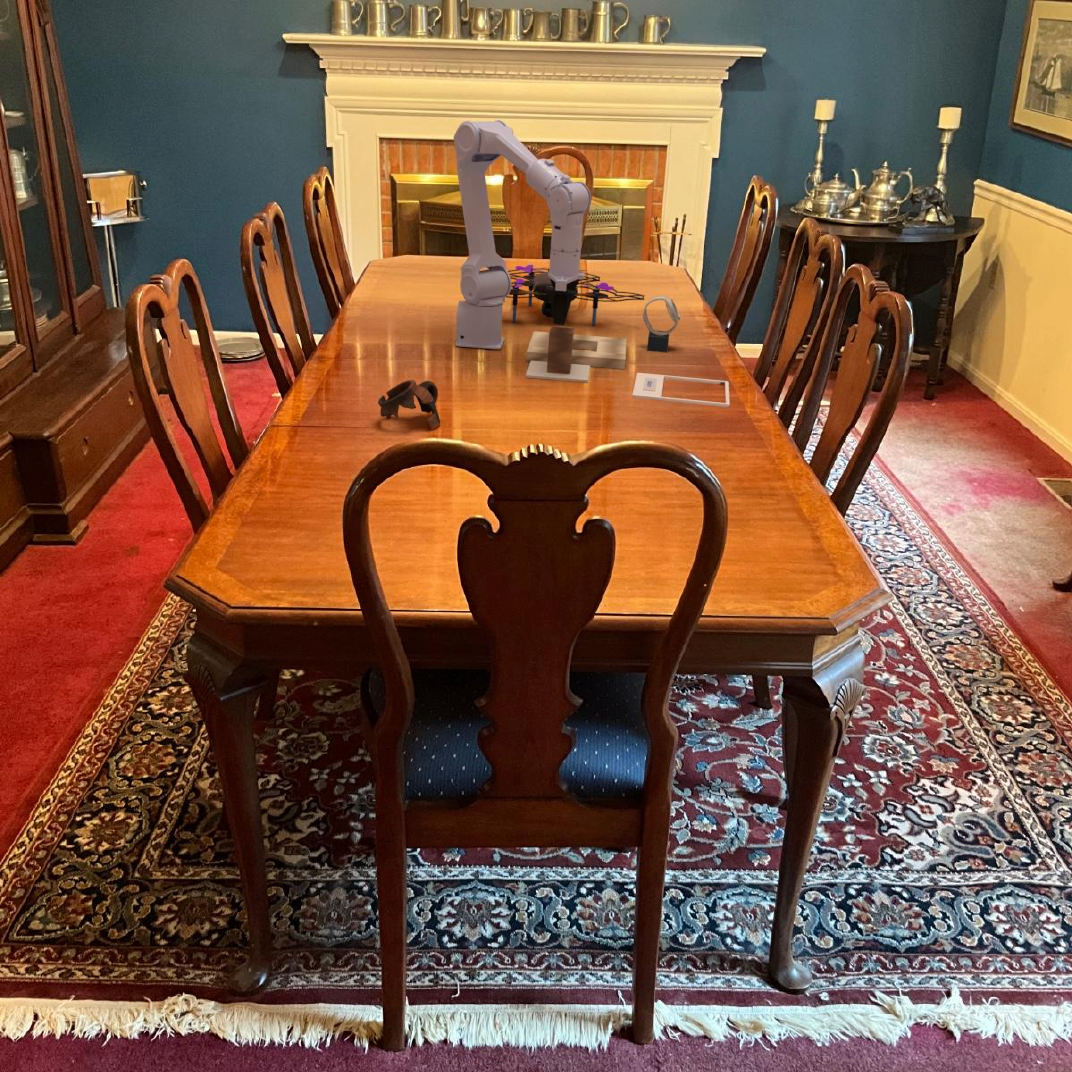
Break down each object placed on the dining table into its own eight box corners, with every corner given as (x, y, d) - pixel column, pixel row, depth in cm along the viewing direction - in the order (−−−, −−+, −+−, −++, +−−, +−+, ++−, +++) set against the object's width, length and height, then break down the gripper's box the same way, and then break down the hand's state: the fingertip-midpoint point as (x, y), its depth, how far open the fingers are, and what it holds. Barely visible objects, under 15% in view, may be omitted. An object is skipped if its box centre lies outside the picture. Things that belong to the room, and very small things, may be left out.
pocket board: (526, 361, 216) (526, 351, 215) (533, 340, 230) (533, 331, 229) (624, 369, 215) (625, 359, 214) (625, 347, 229) (626, 338, 228)
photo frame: (637, 371, 211) (728, 380, 209) (636, 377, 212) (727, 385, 210) (632, 394, 198) (729, 403, 196) (631, 399, 199) (728, 409, 197)
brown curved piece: (429, 440, 174) (403, 397, 171) (388, 452, 180) (362, 411, 176) (461, 402, 183) (437, 361, 179) (421, 415, 188) (397, 375, 185)
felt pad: (525, 377, 206) (525, 375, 206) (530, 362, 215) (530, 360, 215) (587, 382, 205) (587, 380, 205) (589, 367, 214) (590, 365, 214)
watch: (676, 353, 228) (682, 302, 223) (638, 349, 228) (643, 298, 224) (676, 346, 233) (682, 296, 228) (640, 342, 233) (645, 292, 229)
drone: (467, 283, 233) (467, 257, 258) (466, 326, 237) (465, 297, 263) (648, 291, 237) (629, 264, 262) (643, 333, 241) (626, 303, 266)
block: (546, 372, 208) (549, 332, 204) (548, 365, 212) (551, 326, 209) (569, 374, 208) (572, 334, 204) (571, 367, 212) (574, 328, 208)
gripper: (584, 258, 195) (578, 331, 201) (588, 243, 208) (583, 312, 214) (546, 255, 196) (541, 327, 202) (552, 241, 209) (548, 309, 215)
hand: (560, 319), depth 208 cm, fingers open, 7 cm apart
